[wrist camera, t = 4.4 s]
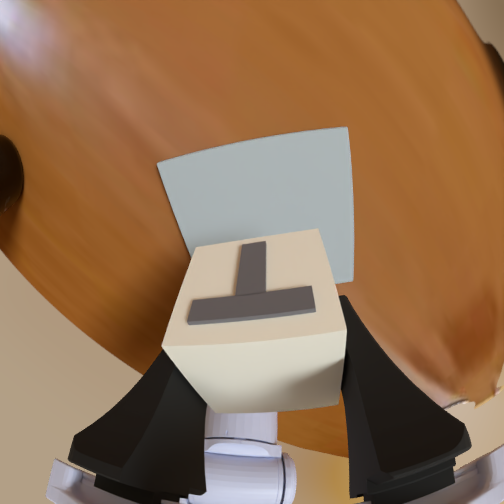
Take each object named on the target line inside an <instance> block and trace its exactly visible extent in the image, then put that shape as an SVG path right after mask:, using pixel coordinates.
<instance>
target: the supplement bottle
mask: <svg viewBox="0 0 504 504" xmlns="http://www.w3.org/2000/svg"><path fill="white" fill-rule="evenodd" d="M22 186H23V170H22V164H21V160H20V157H19V154H18V152H17V149H16V148H15V146H14V144H13V143H12V142H11V141H10V140H9V139H8V138H7V137H6V136H4V135H0V216H1V215H2V214H3V213H4V212H5V211H6V210H8V209H9V208H10V207H11V206H12V205H13V204H14V203H15V202H16V201H17V200H18V198H19V196H20V194H21V191H22Z"/></svg>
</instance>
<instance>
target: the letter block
mask: <svg viewBox="0 0 504 504" xmlns="http://www.w3.org/2000/svg"><path fill="white" fill-rule="evenodd" d="M346 335H347V328H346V324H345V320H344V316H343V312H342V308H341V304H340V300H339V297H338V293H337V289H336V286H335V282H334V279H333V275H332V272H331V268H330V265H329V261H328V258H327V255H326V251H325V248H324V245H323V242H322V239H321V235H320V232H319V229H318V228H317V229H311V230H304V231H297V232H290V233H284V234H277V235H270V236H264V237H257V238H251V239H245V240H238V241H232V242H226V243H219V244H213V245H207V246H201V247H196V248H195V251H194V254H193V256H192V259H191V262H190V264H189V267H188V270H187V272H186V275H185V278H184V281H183V283H182V286H181V289H180V292H179V295H178V298H177V300H176V303H175V306H174V309H173V312H172V315H171V318H170V321H169V324H168V327H167V330H166V333H165V336H164V339H163V343H162V348H163V349H164V350H165V352H166V353H167V354H168V356H169V357H170V358H171V360H172V361H173V362H174V364H175V365H176V366H177V368H178V369H179V370H180V372H181V373H182V374H183V375H184V377H185V378H186V379H187V380H188V382H189V383H190V384H191V385H192V386H193V388H194V389H195V390H196V391H197V392H198V394H199V395H200V396H201V397H202V398H203V400H204V401H205V402H206V403H207V404H208V405H209V406H210V408H211V409H212V410H213V411H214V412H215V413H265V412H281V411H293V410H303V409H311V408H319V407H326V406H333V405H338V403H339V396H340V389H341V382H342V374H343V366H344V357H345V347H346Z"/></svg>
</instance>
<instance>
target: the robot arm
mask: <svg viewBox="0 0 504 504" xmlns="http://www.w3.org/2000/svg"><path fill="white" fill-rule="evenodd" d="M338 297H339V300H340V304H341V308H342V312H343V316H344V320H345V324H346V328H347V335H346V347H345V357H344V366H343V374H342V382H341V391H342V396H343V400H344V406H345V413H346V423H347V435H348V450H349V481H350V482H349V492H350V498H357V497H362V496H364V502H361V503H356V504H499V503H501V502H502V501H503V500H504V444H503V445H501V446H499V447H498V448H496V449H494V450H493V451H491V452H489V453H487V454H485V455H483V456H481V457H479V458H477V459H475V460H474V461H472V462H470V463H468V464H466V465H464V466H462V467H460V469H458V470H456V471H453V466H455V465H456V462H455V457H456V456H458V455H460V454H462V453H464V452H466V451H467V450H469V449H470V448H471V446H472V445H471V441H470V437H469V434H468V431H467V429H466V427H465V424H464V423H462V422H461V421H459V420H458V419H457V418H455V417H453V416H452V415H451V414H449V413H448V412H447V411H445V410H444V409H443V408H441V407H440V406H439V405H438V404H436V403H435V402H434V401H433V400H431V399H430V398H429V397H428V396H427V395H426V394H425V393H424V392H422V391H421V390H420V389H419V388H418V387H417V386H416V385H415V384H414V383H413V382H412V381H411V380H410V379H409V378H408V377H407V376H406V375H405V374H404V373H403V372H402V371H401V370H400V369H399V368H398V367H397V366H396V365H395V364H394V363H393V361H392V360H391V359H390V358H389V357H388V356H387V354H386V353H385V352H384V351H383V349H382V348H381V347H380V346H379V344H378V343H377V342H376V340H375V339H374V338H373V336H372V335H371V334H370V332H369V331H368V330H367V328H366V327H365V325H364V324H363V322H362V321H361V319H360V318H359V316H358V315H357V313H356V312H355V310H354V309H353V307H352V305H351V303H350V302H349V300H348V298H347V297H346V296H345V295H342V296H338ZM68 460H69V461H70V462H72V463H74V464H76V465H78V466H80V467H83V468H85V469H87V470H89V471H92V472H94V473H96V476H94V475H91V474H89V473H87V472H84V471H82V470H80V469H76V468H74V467H72V466H70V465H68V464H66V463H64V462H62V461H60V460H58V459H54V463H53V466H52V470H51V474H50V478H49V483H48V487H47V491H46V497H47V498H48V499H50V500H51V501H52V502H54V503H55V504H292V502H293V500H294V496H295V492H296V468H295V464H294V461H293V460H292V458H291V457H289V455H288V454H287V453H281V445H277V412H265V413H215V412H214V411H213V410H212V409H211V408H210V406H209V405H208V404H207V403H206V402H205V401H204V400H203V398H202V397H201V396H200V395H199V394H198V392H197V391H196V390H195V389H194V388H193V386H192V385H191V384H190V383H189V382H188V380H187V379H186V378H185V377H184V375H183V374H182V373H181V372H180V370H179V369H178V368H177V366H176V365H175V364H174V362H173V361H172V360H171V358H170V357H169V356H168V354H167V353H166V352H165V350H164V349H163V350H162V351H161V353H160V354H159V356H158V357H157V358H156V360H155V361H154V362H153V364H152V365H151V366H150V368H149V369H148V370H147V372H146V373H145V374H144V375H143V377H142V378H141V379H140V380H139V382H137V384H136V385H135V386H134V387H133V388H132V389H131V390H130V391H129V392H128V393H127V394H126V395H125V397H123V398H122V399H121V400H120V401H119V402H118V403H117V404H116V405H115V406H114V407H113V408H112V409H111V410H109V411H108V412H107V413H106V414H105V415H103V416H102V417H101V418H99V419H98V420H97V421H96V422H94V423H93V424H91V425H90V426H88V427H87V428H85V429H84V430H82V431H81V432H79V433H78V434H76V435H75V436H74V438H73V442H72V445H71V448H70V453H69V456H68Z"/></svg>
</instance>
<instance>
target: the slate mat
mask: <svg viewBox="0 0 504 504" xmlns="http://www.w3.org/2000/svg"><path fill="white" fill-rule="evenodd" d="M157 166H158V169H159V172H160V175H161V178H162V181H163V184H164V187H165V189H166V192H167V195H168V198H169V201H170V203H171V206H172V209H173V212H174V214H175V217H176V220H177V222H178V225H179V228H180V230H181V233H182V235H183V238H184V240H185V243H186V246H187V248H188V251H189V253H190V256H191V258H192V256H193V254H194V251H195V248H196V247H201V246H207V245H213V244H219V243H226V242H232V241H238V240H245V239H251V238H257V237H264V236H270V235H277V234H284V233H290V232H297V231H304V230H311V229H317V228H318V229H319V232H320V235H321V239H322V242H323V245H324V248H325V251H326V255H327V258H328V261H329V265H330V268H331V272H332V275H333V279H334V282H335V284H338V283H344V282H350V281H353V270H354V207H353V184H352V168H351V156H350V145H349V135H348V127H336V128H326V129H317V130H309V131H301V132H294V133H287V134H280V135H274V136H268V137H262V138H257V139H252V140H246V141H241V142H236V143H232V144H227V145H223V146H218V147H214V148H210V149H205V150H201V151H197V152H193V153H190V154H186V155H182V156H178V157H175V158H171V159H168V160H164V161H161V162H158V163H157Z"/></svg>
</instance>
